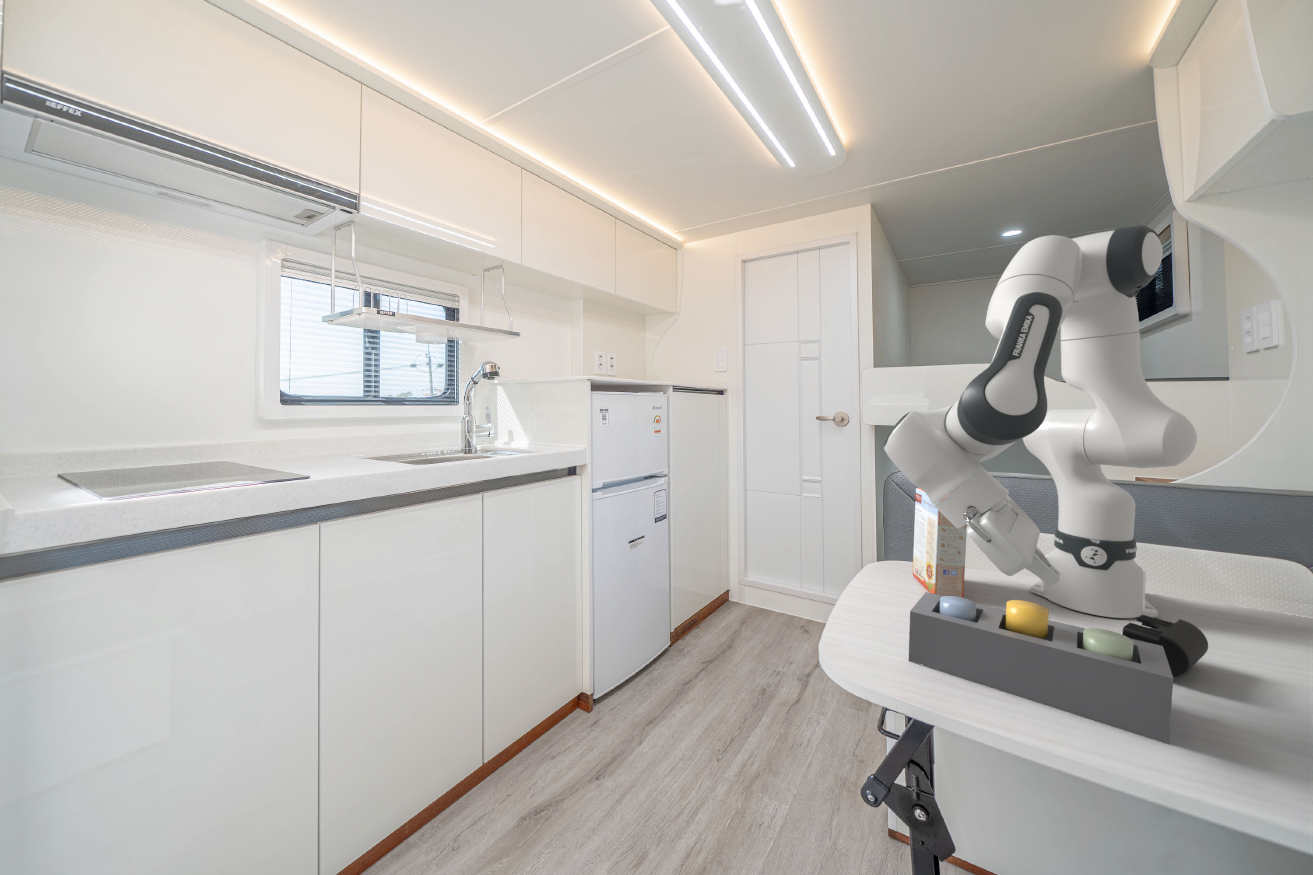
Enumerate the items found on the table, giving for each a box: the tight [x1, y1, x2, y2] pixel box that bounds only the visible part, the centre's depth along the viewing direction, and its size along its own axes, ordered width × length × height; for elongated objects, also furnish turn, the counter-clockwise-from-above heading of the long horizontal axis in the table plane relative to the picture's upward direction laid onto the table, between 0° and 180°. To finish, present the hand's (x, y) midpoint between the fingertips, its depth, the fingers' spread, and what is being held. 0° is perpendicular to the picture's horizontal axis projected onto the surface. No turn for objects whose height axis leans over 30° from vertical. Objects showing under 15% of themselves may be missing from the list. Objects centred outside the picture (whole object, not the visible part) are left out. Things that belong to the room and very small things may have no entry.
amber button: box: [1005, 599, 1050, 639], centre depth 69 cm, size 5×5×4 cm
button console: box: [908, 591, 1174, 745], centre depth 69 cm, size 10×28×8 cm, turn 48°
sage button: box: [1083, 627, 1133, 662], centre depth 63 cm, size 5×5×4 cm
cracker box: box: [912, 487, 967, 598], centre depth 104 cm, size 14×6×21 cm, turn 168°
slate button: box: [939, 596, 977, 623], centre depth 75 cm, size 5×5×4 cm
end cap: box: [1122, 615, 1209, 678], centre depth 72 cm, size 10×7×7 cm
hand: (1055, 580), depth 67 cm, fingers closed
